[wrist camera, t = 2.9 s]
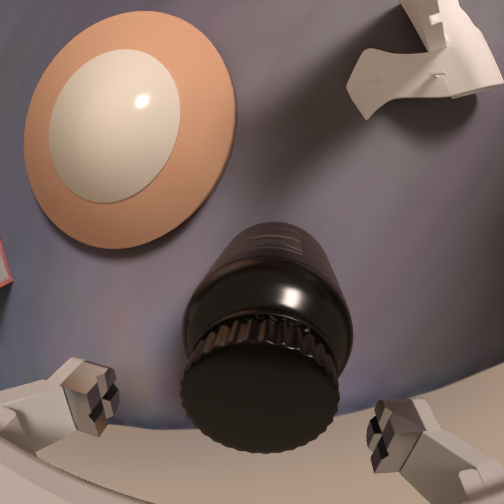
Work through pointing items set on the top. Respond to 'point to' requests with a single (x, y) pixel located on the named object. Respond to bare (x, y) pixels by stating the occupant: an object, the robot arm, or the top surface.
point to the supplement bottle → (266, 342)
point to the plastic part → (427, 61)
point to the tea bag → (4, 269)
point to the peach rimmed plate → (130, 129)
